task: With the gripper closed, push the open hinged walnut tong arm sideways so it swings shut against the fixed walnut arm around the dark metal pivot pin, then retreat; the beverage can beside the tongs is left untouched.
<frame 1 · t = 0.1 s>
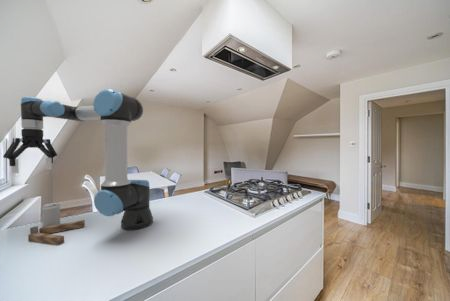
hand: (33, 171, 91), 28 cm above the worktop, fingers open, 13 cm apart
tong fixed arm: (34, 237, 80), on the worktop
beverage can: (51, 228, 89), on the worktop
tong arm: (63, 227, 86), point 2 cm above the worktop, hinge at 45.0°
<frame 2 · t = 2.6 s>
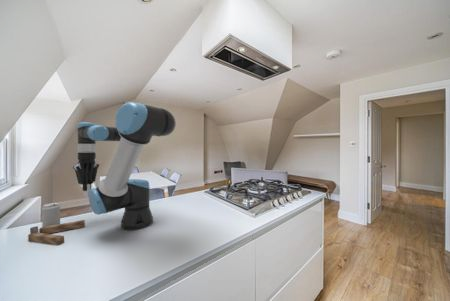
hand: (87, 196, 96), 14 cm above the worktop, fingers closed
nothing on the worktop moved.
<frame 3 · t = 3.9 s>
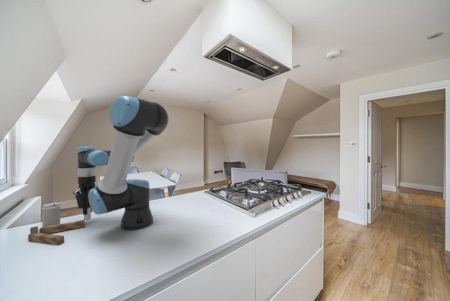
hand: (87, 219, 96), 1 cm above the worktop, fingers closed
nothing on the worktop moved.
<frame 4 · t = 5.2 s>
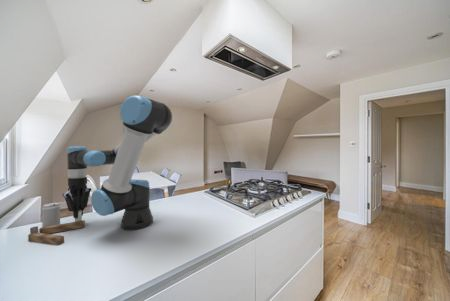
hand: (78, 223, 91), 2 cm above the worktop, fingers closed
tong arm: (63, 227, 86), point 2 cm above the worktop, hinge at 43.2°, touching gripper
everything else where it was.
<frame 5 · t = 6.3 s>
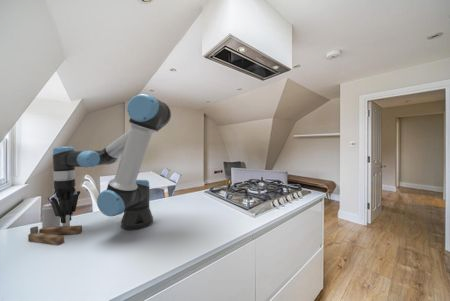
hand: (66, 228, 85), 1 cm above the worktop, fingers closed
tong arm: (61, 230, 83), point 2 cm above the worktop, hinge at 20.8°, touching gripper
everything else where it was.
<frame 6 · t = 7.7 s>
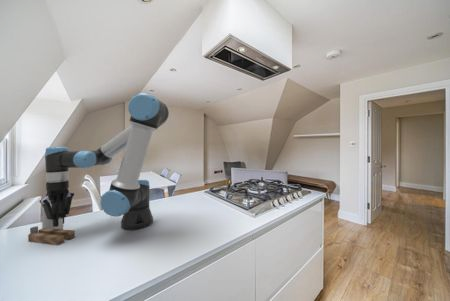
hand: (59, 232, 82), 1 cm above the worktop, fingers closed
tong arm: (56, 233, 80), point 2 cm above the worktop, hinge at 3.2°, touching gripper
everything else where it was.
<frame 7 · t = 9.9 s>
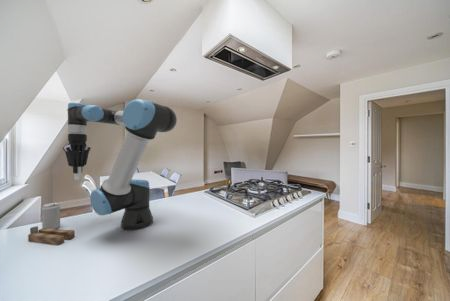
hand: (77, 179, 93), 23 cm above the worktop, fingers closed
tong arm: (56, 233, 80), point 2 cm above the worktop, hinge at 3.2°
everything else where it was.
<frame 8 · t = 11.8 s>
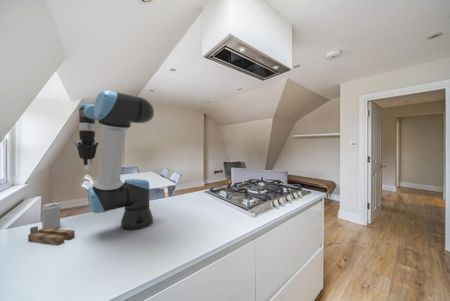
hand: (87, 170, 108), 26 cm above the worktop, fingers closed
nothing on the worktop moved.
at the end: tong arm at +3° (first picture: +45°) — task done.
